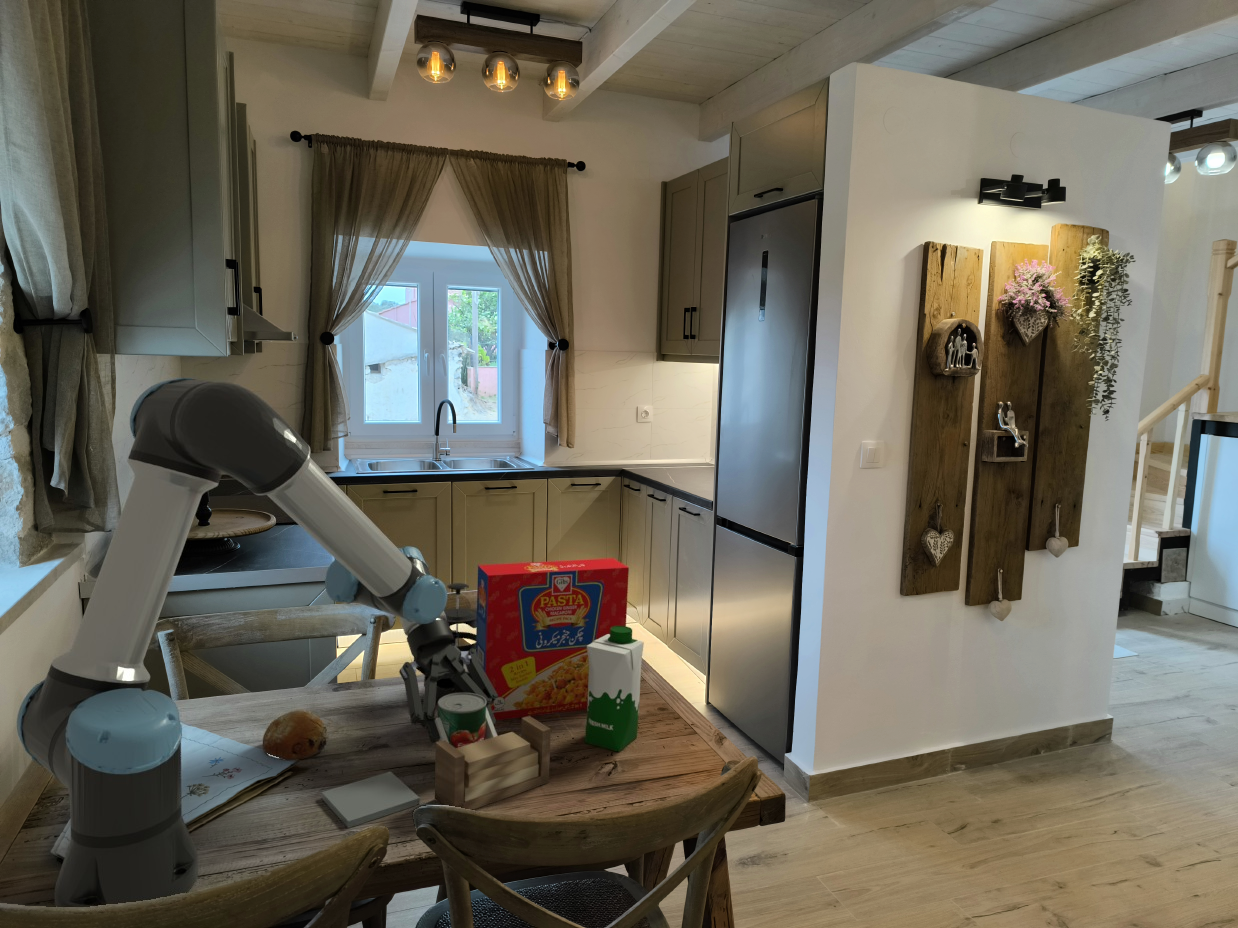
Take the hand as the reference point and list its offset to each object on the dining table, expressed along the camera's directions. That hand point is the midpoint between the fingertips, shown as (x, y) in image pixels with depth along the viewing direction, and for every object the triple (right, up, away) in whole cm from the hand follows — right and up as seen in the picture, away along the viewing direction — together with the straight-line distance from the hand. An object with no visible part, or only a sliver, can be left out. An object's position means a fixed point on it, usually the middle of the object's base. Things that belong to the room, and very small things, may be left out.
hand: (471, 751), depth 133 cm
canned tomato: (-2, -3, +3) cm, 5 cm away
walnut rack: (+4, -4, -5) cm, 8 cm away
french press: (-9, 0, +31) cm, 33 cm away
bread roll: (-31, -2, +7) cm, 32 cm away
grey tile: (-14, -4, -9) cm, 17 cm away
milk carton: (+22, -3, +15) cm, 27 cm away
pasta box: (+10, -1, +29) cm, 31 cm away
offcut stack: (+4, -3, -5) cm, 7 cm away
